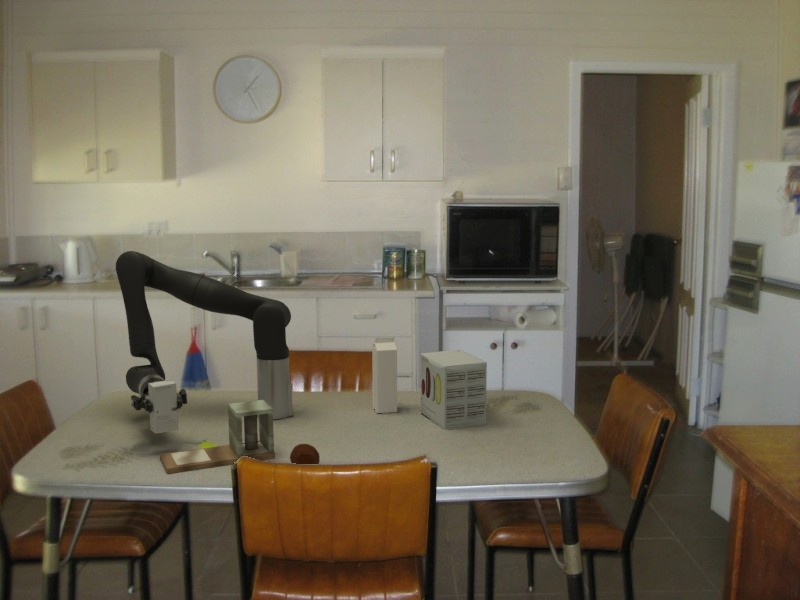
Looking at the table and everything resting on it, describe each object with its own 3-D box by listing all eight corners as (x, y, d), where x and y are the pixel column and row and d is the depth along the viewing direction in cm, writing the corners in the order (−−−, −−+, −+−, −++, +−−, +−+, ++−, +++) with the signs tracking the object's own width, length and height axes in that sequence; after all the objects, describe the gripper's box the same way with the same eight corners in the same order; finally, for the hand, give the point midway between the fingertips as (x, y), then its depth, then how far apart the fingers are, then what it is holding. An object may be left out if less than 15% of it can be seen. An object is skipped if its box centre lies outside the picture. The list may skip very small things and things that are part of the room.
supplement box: (419, 413, 241) (419, 353, 238) (460, 408, 246) (460, 349, 243) (443, 430, 225) (444, 365, 222) (487, 425, 230) (488, 361, 227)
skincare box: (155, 434, 204) (152, 387, 202) (150, 429, 208) (146, 383, 206) (179, 429, 208) (176, 382, 206) (174, 425, 211) (170, 379, 209)
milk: (397, 412, 242) (397, 338, 238) (377, 414, 240) (377, 340, 237) (391, 406, 247) (391, 334, 244) (372, 408, 246) (372, 335, 242)
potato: (289, 477, 190) (288, 450, 189) (290, 463, 199) (290, 438, 198) (319, 476, 191) (319, 449, 190) (319, 462, 200) (319, 437, 199)
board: (263, 444, 213) (261, 398, 211) (275, 457, 203) (274, 409, 201) (159, 459, 202) (157, 411, 201) (167, 473, 193) (164, 423, 191)
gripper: (125, 380, 216) (133, 396, 201) (181, 374, 222) (193, 388, 207) (127, 408, 217) (135, 425, 202) (182, 401, 223) (195, 417, 208)
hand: (164, 406), depth 205 cm, fingers closed on skincare box, 6 cm apart
